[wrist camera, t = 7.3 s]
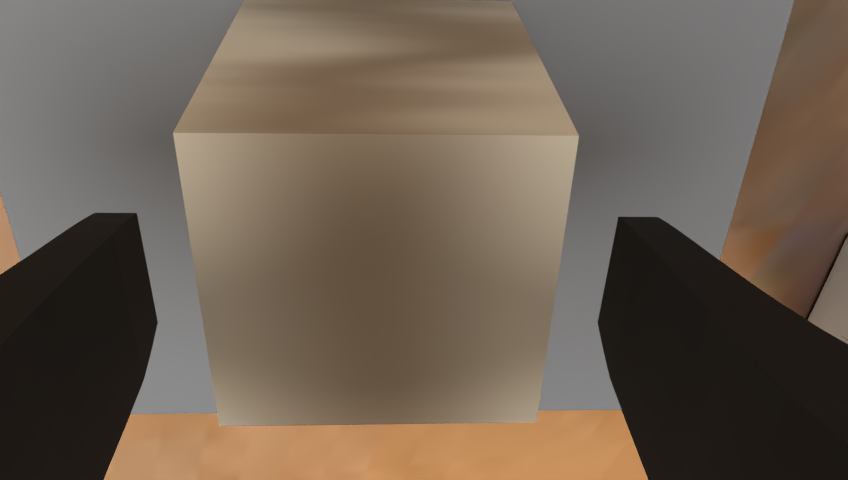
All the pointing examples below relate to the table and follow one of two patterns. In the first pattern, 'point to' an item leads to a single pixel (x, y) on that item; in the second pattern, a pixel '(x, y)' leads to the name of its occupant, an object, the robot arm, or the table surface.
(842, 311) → the small box
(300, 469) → the table surface
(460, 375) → the maple block
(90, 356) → the robot arm
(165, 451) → the table surface
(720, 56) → the slate plinth
